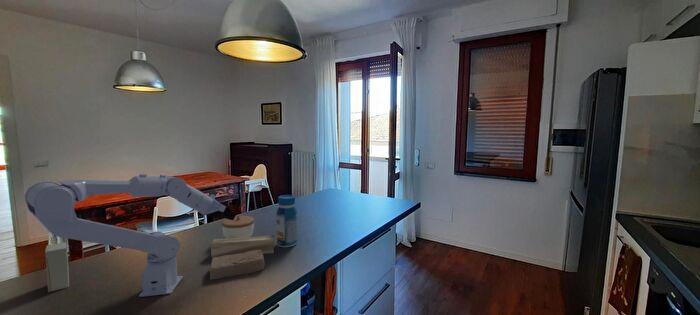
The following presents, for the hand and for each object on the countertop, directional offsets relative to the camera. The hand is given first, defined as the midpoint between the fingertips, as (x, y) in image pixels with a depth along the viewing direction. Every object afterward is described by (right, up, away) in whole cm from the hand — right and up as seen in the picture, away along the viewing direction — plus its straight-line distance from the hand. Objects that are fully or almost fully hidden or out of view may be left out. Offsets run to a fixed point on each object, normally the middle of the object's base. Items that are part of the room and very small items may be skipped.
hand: (227, 216), depth 100 cm
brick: (+7, -17, -6) cm, 19 cm away
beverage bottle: (+18, -15, +15) cm, 28 cm away
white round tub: (-3, -15, +18) cm, 23 cm away
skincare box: (-42, -17, -17) cm, 49 cm away
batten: (+4, -15, +6) cm, 17 cm away
